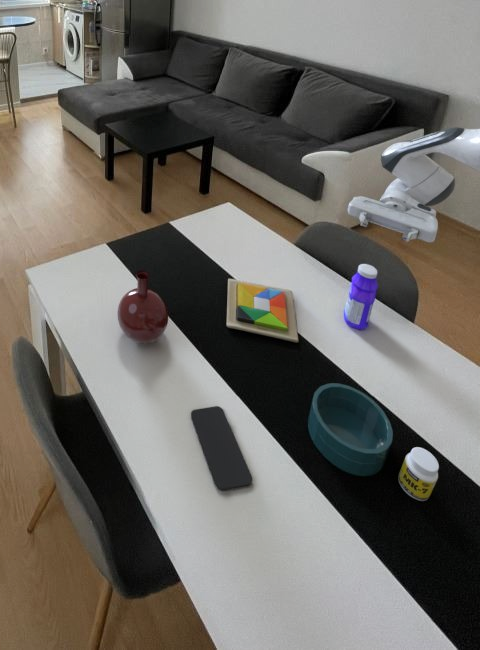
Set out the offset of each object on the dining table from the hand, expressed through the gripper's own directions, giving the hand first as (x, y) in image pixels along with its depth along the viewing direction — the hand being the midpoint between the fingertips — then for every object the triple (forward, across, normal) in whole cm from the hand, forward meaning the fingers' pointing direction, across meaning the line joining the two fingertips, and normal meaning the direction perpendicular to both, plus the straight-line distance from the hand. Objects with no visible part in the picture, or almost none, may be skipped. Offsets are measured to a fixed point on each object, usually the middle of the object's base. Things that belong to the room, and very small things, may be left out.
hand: (383, 231), depth 113 cm
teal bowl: (+46, +7, +22) cm, 51 cm away
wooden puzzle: (+26, -20, +22) cm, 39 cm away
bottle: (+12, 0, +22) cm, 25 cm away
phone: (+65, -10, +22) cm, 69 cm away
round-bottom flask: (+54, -39, +22) cm, 70 cm away
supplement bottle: (+46, +19, +22) cm, 55 cm away
